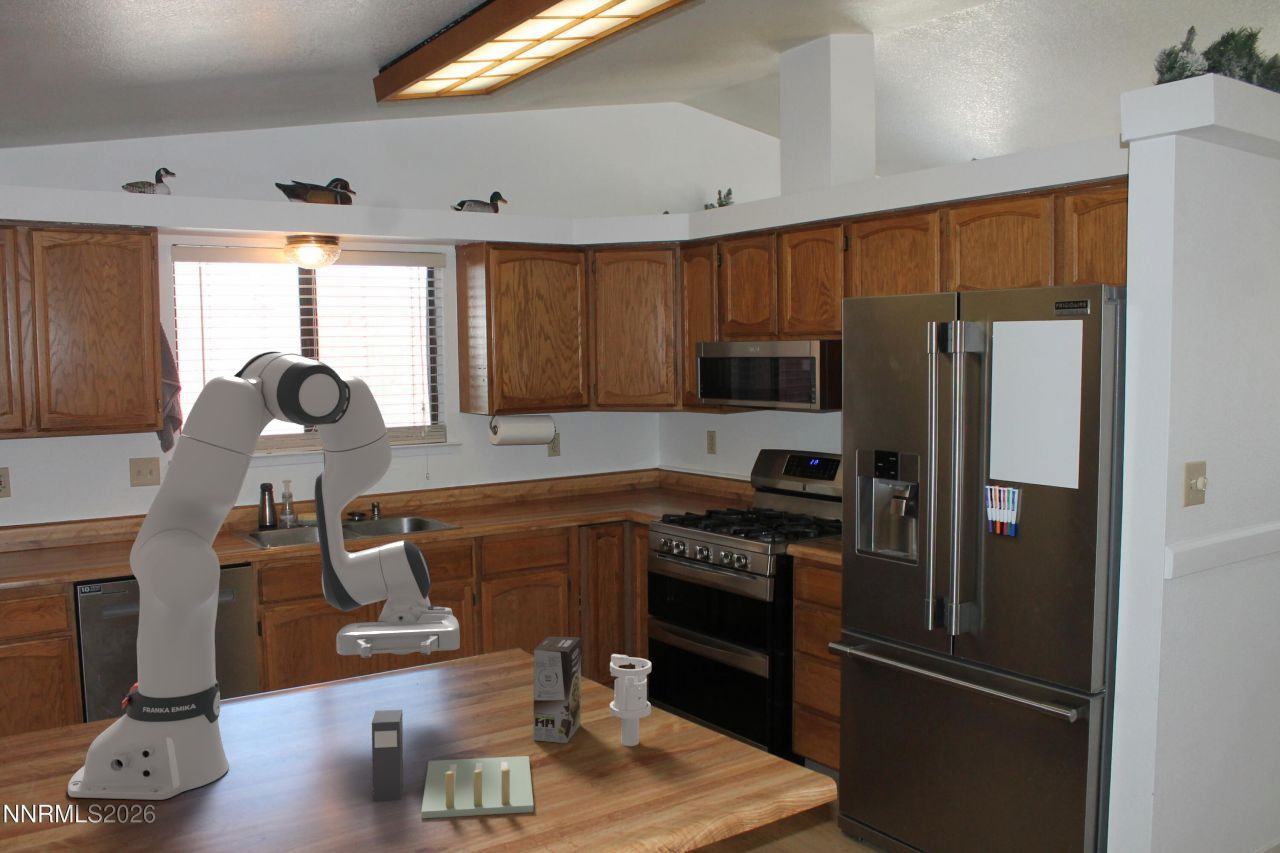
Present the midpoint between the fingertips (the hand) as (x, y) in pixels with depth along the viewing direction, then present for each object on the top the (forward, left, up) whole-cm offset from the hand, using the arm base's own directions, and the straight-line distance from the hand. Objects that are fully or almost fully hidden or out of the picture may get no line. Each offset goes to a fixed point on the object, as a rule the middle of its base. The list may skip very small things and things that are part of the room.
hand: (395, 651), depth 165 cm
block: (0, -12, -18) cm, 22 cm away
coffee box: (+27, +9, -18) cm, 34 cm away
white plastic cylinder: (+39, +3, -18) cm, 43 cm away
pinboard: (+13, -12, -18) cm, 26 cm away
